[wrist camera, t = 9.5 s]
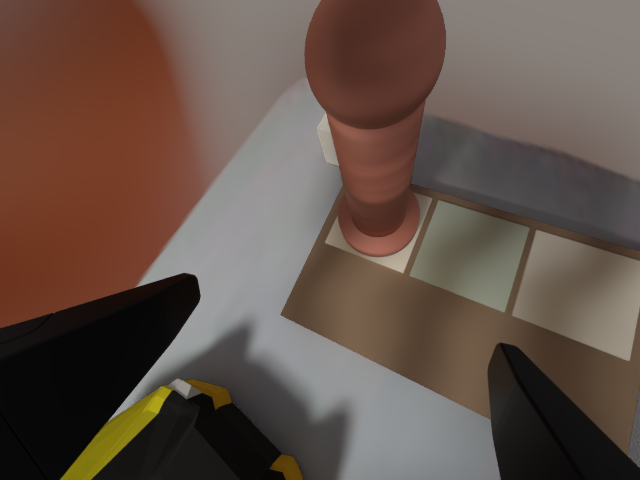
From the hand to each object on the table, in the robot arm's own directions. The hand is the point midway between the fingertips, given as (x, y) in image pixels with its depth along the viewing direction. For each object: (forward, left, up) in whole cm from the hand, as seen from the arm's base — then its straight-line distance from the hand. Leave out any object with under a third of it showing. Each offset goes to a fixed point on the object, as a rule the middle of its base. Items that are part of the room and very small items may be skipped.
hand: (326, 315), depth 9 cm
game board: (0, -7, -12) cm, 13 cm away
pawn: (+6, -4, -10) cm, 13 cm away
